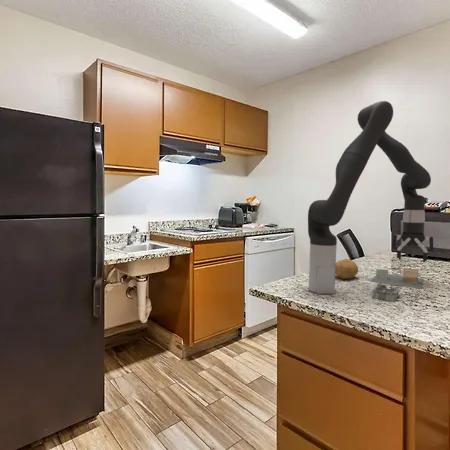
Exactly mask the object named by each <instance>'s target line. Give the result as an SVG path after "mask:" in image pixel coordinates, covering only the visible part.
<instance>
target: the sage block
mask: <svg viewBox="0 0 450 450" xmlns="http://www.w3.org/2000/svg"><path fill="white" fill-rule="evenodd" d="M375 269H376V271H375V272H376V273H375V276H376V278H379V279H386V280H387V278H388V274H389V268H386V267H377V268H375Z"/></svg>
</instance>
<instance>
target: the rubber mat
mask: <svg viewBox="0 0 450 450" xmlns="http://www.w3.org/2000/svg"><path fill="white" fill-rule="evenodd" d="M424 281H425V278H421V277H418V282H417V284H413V283H406V282H403V275H398V274H389V273H388V278H387V280H386V279H379V278H376V275H374V276H373V277H372V279H371V280H370V283H377V284H379V283H380V282H381V284H383V285H391V286H399V287H405V288H413V289H420V290H422V289H423V286H424Z"/></svg>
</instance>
